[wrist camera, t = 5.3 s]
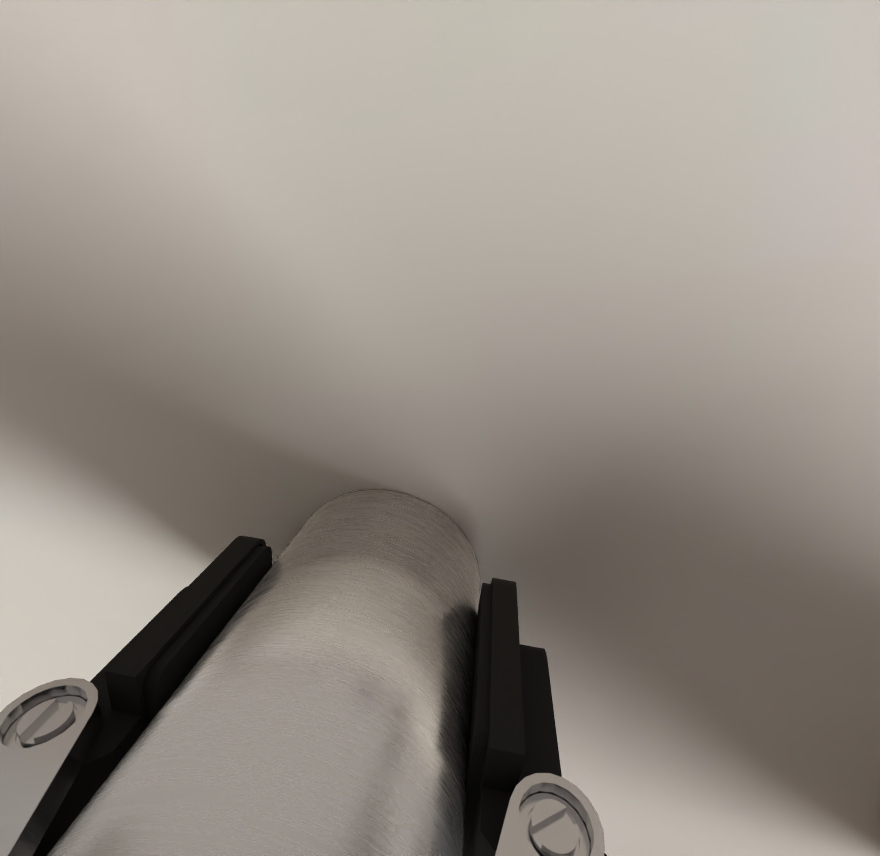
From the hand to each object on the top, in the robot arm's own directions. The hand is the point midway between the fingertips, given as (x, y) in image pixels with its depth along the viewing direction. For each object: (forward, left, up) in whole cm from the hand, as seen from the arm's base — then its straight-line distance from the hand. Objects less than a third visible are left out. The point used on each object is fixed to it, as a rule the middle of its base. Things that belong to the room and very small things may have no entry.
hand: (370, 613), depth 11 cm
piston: (0, 0, -1) cm, 1 cm away
